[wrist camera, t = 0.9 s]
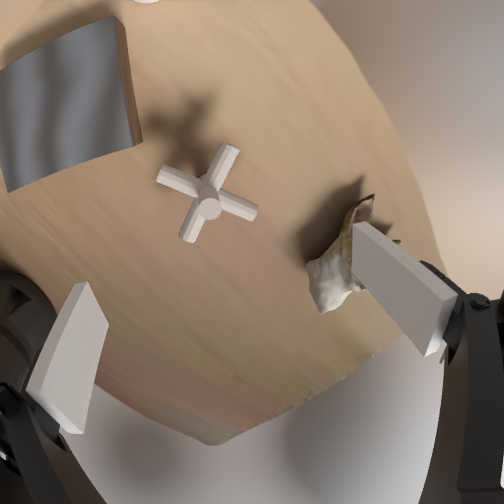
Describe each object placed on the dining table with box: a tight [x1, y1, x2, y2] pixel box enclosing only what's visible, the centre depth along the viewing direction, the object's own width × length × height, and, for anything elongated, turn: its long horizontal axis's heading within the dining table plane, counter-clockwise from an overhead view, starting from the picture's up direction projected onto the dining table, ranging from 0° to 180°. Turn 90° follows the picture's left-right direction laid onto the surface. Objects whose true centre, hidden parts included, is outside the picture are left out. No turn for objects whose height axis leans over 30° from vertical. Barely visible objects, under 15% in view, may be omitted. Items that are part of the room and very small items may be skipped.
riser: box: [0, 15, 143, 193], centre depth 22 cm, size 16×14×5 cm
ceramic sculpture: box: [306, 194, 401, 314], centre depth 35 cm, size 11×9×15 cm
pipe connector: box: [156, 142, 259, 243], centre depth 27 cm, size 10×10×10 cm
